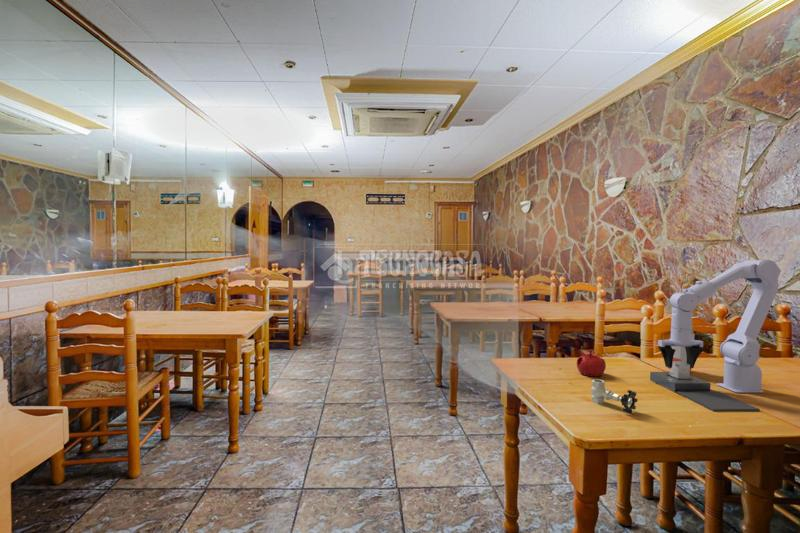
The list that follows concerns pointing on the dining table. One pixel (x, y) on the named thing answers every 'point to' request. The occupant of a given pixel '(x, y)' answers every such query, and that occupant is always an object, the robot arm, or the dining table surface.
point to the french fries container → (682, 351)
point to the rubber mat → (718, 401)
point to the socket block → (680, 383)
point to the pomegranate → (591, 364)
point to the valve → (612, 395)
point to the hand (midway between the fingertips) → (679, 367)
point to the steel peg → (679, 370)
